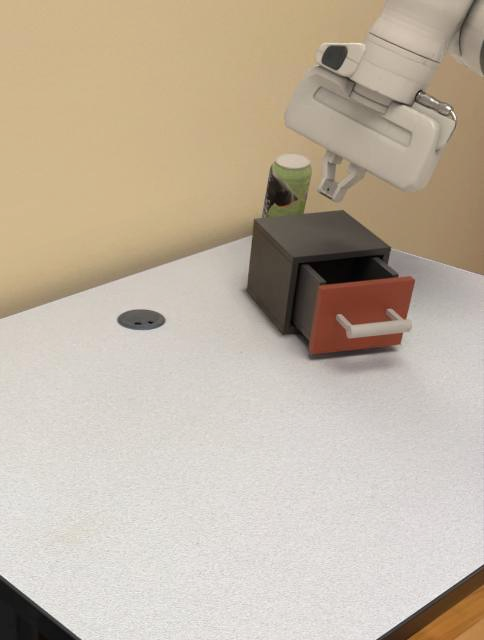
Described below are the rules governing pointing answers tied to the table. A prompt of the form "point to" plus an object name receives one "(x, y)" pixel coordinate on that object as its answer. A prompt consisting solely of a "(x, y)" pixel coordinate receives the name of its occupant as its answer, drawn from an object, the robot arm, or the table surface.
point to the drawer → (351, 304)
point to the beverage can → (287, 185)
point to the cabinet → (301, 255)
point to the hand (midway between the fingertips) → (328, 197)
